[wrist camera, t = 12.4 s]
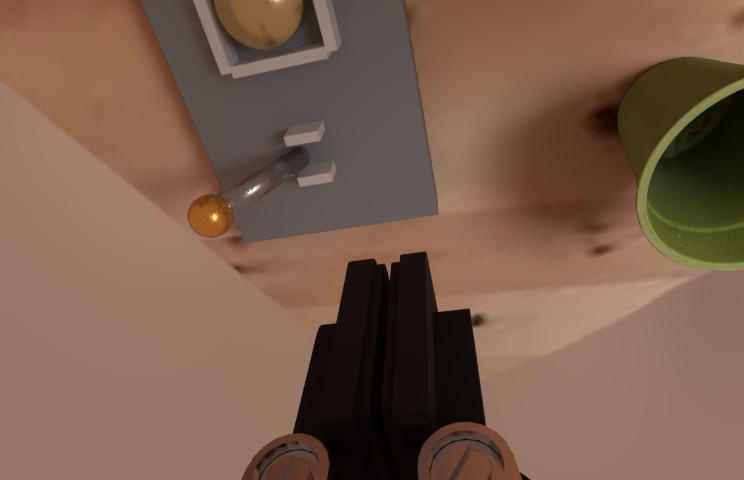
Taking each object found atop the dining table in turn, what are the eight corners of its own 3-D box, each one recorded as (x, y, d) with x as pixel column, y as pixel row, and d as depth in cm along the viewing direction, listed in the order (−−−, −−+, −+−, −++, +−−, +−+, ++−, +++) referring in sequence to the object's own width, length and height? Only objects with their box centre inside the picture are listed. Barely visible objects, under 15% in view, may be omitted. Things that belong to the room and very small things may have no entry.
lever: (315, 136, 33) (197, 211, 27) (325, 170, 34) (215, 249, 28) (289, 134, 34) (171, 205, 28) (299, 167, 36) (190, 241, 30)
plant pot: (604, 17, 31) (684, 59, 22) (796, 21, 31) (962, 67, 21) (563, 181, 38) (611, 266, 29) (720, 187, 37) (821, 277, 28)
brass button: (292, -60, 27) (284, -58, 26) (317, 33, 30) (311, 39, 28) (212, -39, 28) (199, -36, 27) (242, 49, 31) (232, 57, 29)
